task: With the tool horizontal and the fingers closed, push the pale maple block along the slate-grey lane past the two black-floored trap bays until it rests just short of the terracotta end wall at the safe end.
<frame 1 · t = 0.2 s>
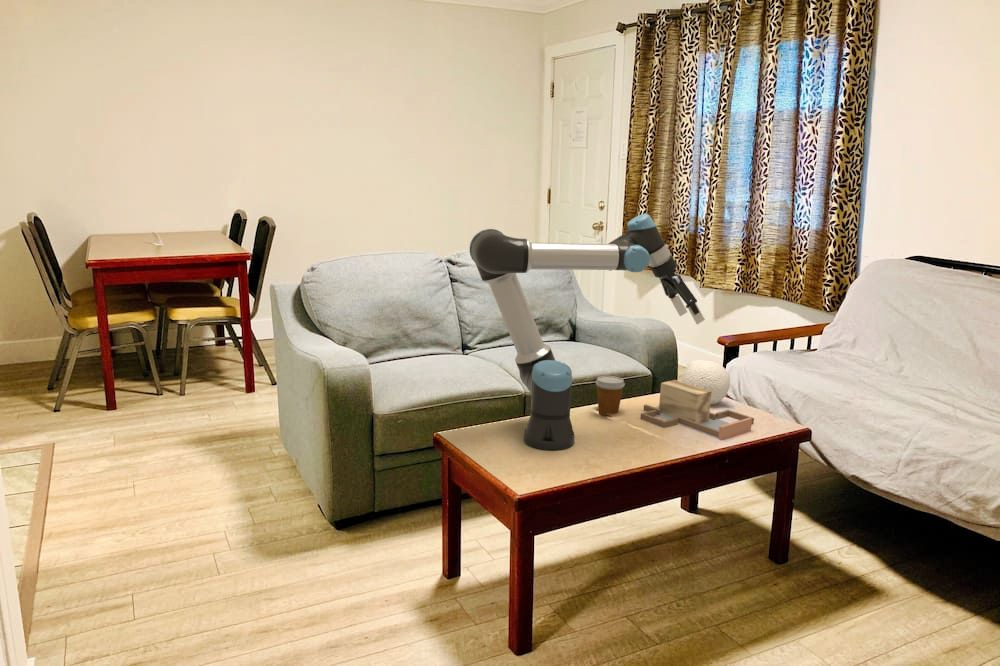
hand: (692, 317, 241), 35 cm above the table, tool tilted 35°, fingers open, 13 cm apart
maple block: (683, 416, 251), point 1 cm above the table, touching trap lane
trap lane: (694, 423, 248), on the table
disposable coffee cup: (608, 414, 254), on the table
decorative orb: (701, 404, 268), on the table
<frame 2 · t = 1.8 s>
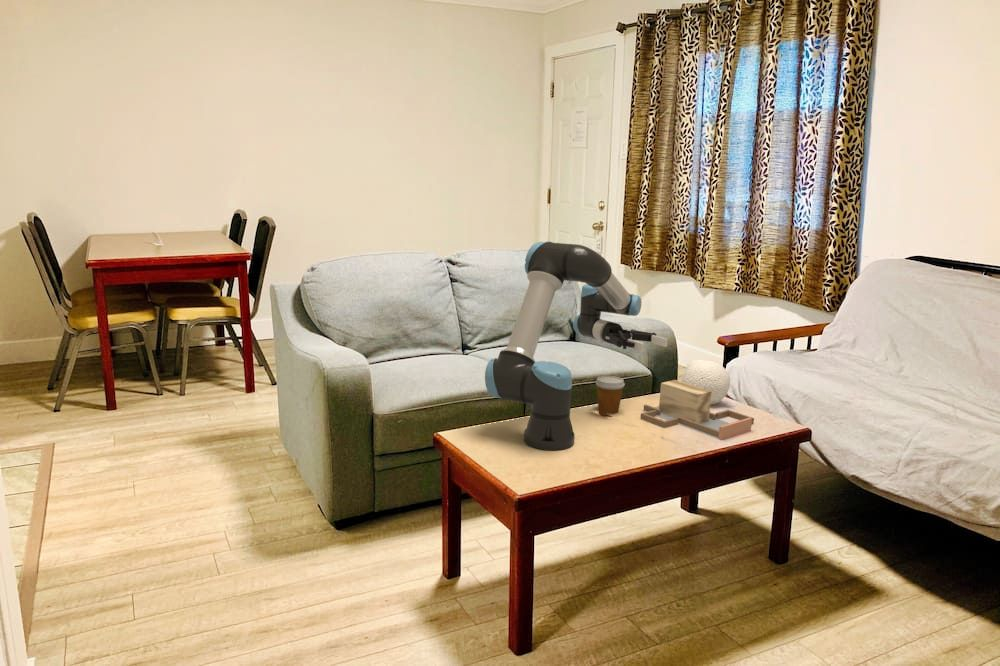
hand: (654, 345, 257), 22 cm above the table, tool horizontal, fingers open, 11 cm apart
nothing on the table moved.
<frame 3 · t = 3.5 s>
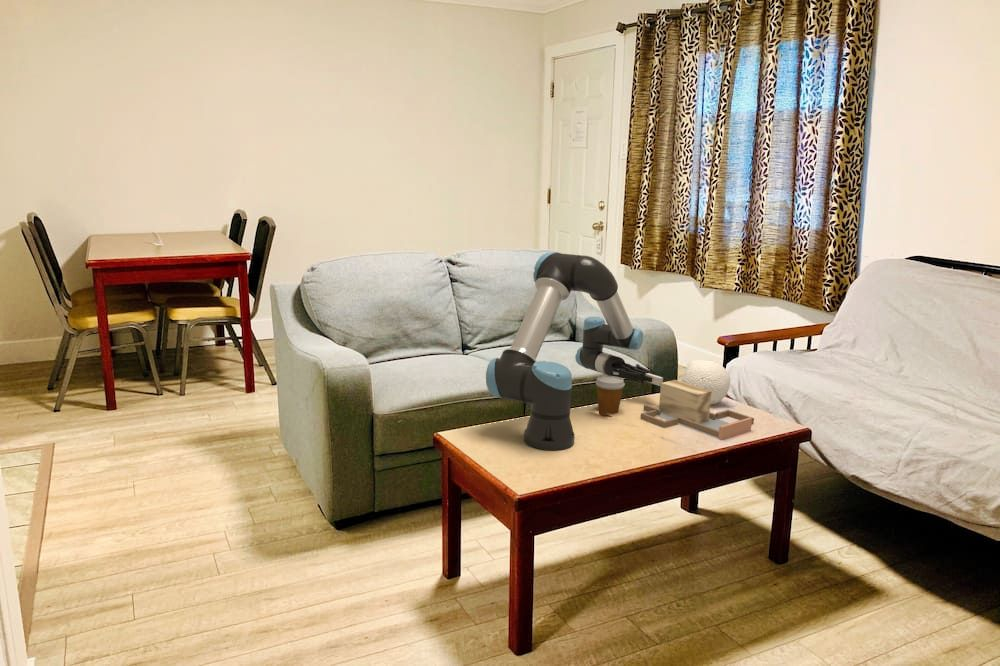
hand: (661, 381, 257), 10 cm above the table, tool horizontal, fingers closed
nothing on the table moved.
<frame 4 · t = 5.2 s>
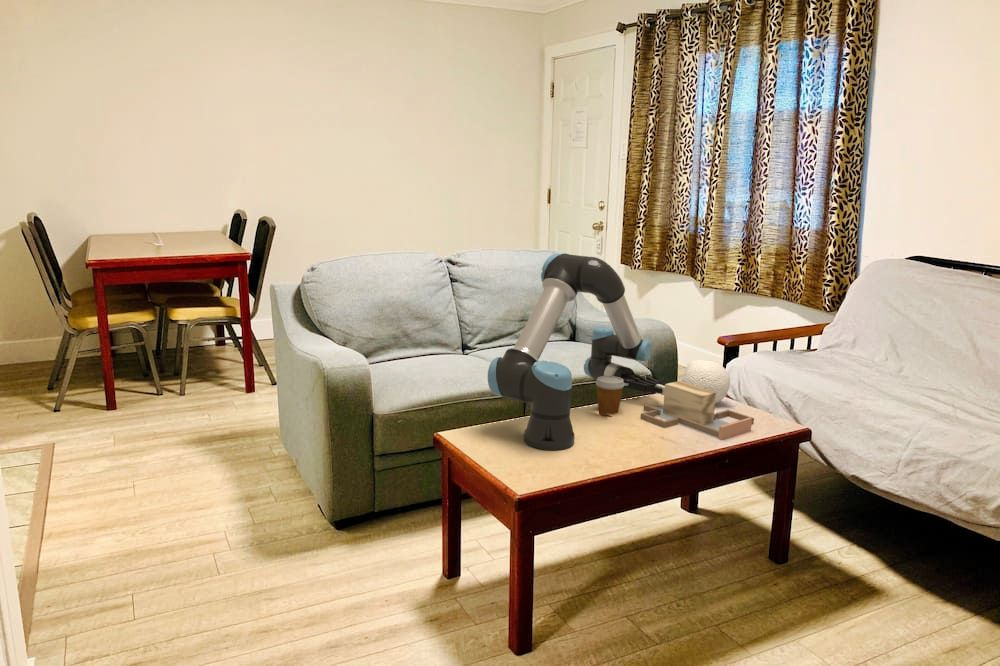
hand: (671, 393, 254), 7 cm above the table, tool horizontal, fingers closed
maple block: (687, 417, 250), point 1 cm above the table, touching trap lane
everything else where it was.
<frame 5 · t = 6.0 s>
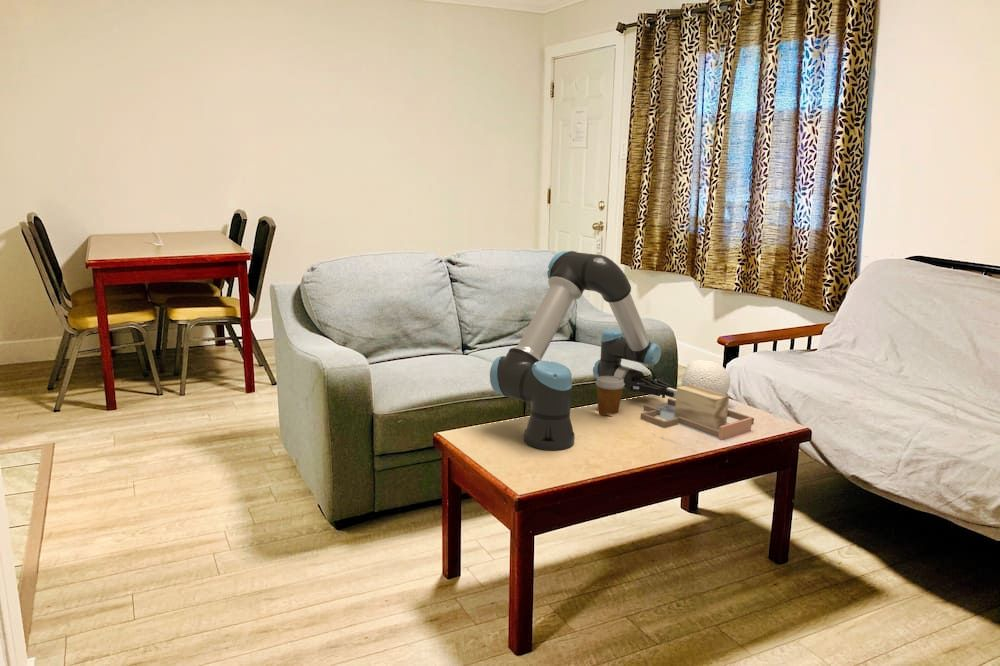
hand: (683, 396, 251), 7 cm above the table, tool horizontal, fingers closed
maple block: (699, 421, 246), point 1 cm above the table, touching gripper
everything else where it was.
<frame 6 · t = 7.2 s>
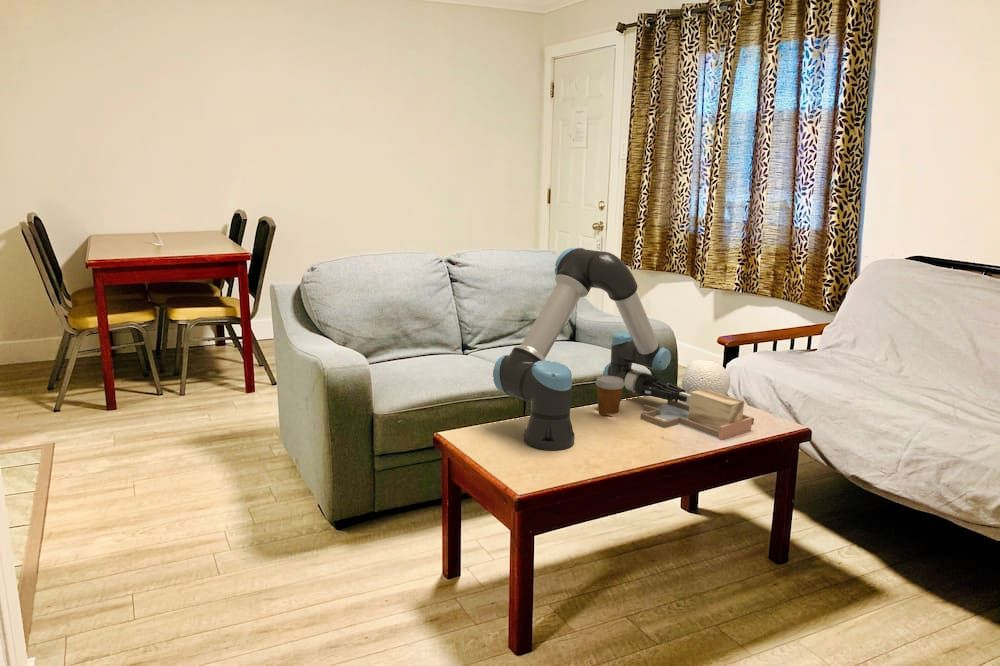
hand: (696, 401, 246), 7 cm above the table, tool horizontal, fingers closed
maple block: (714, 426, 242), point 1 cm above the table, touching gripper, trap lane
everything else where it was.
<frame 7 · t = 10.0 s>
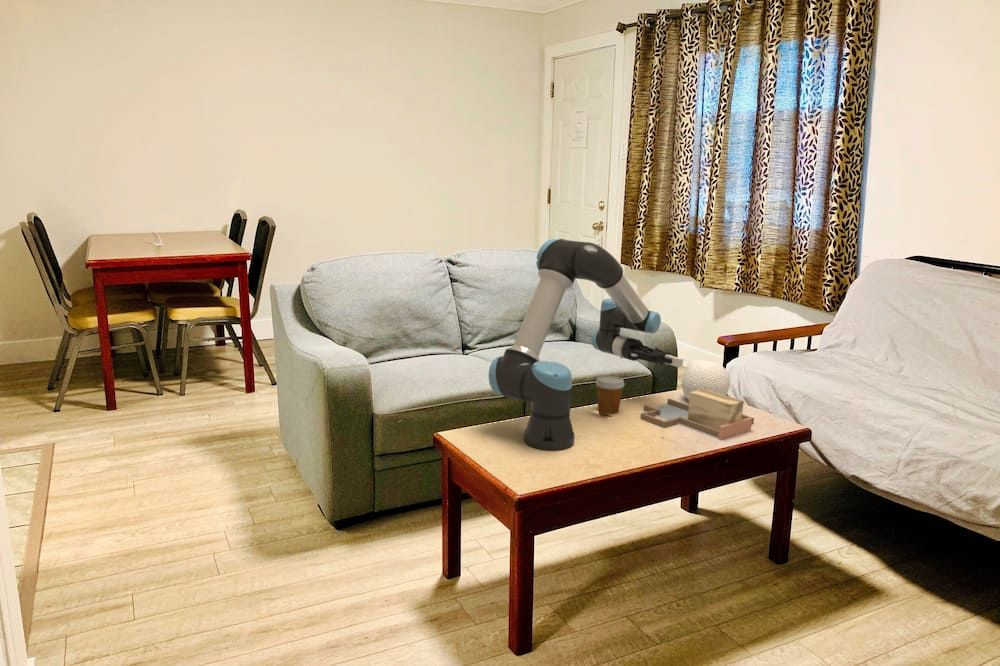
hand: (681, 363, 249), 18 cm above the table, tool horizontal, fingers closed
maple block: (713, 426, 242), point 1 cm above the table, touching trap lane
everything else where it was.
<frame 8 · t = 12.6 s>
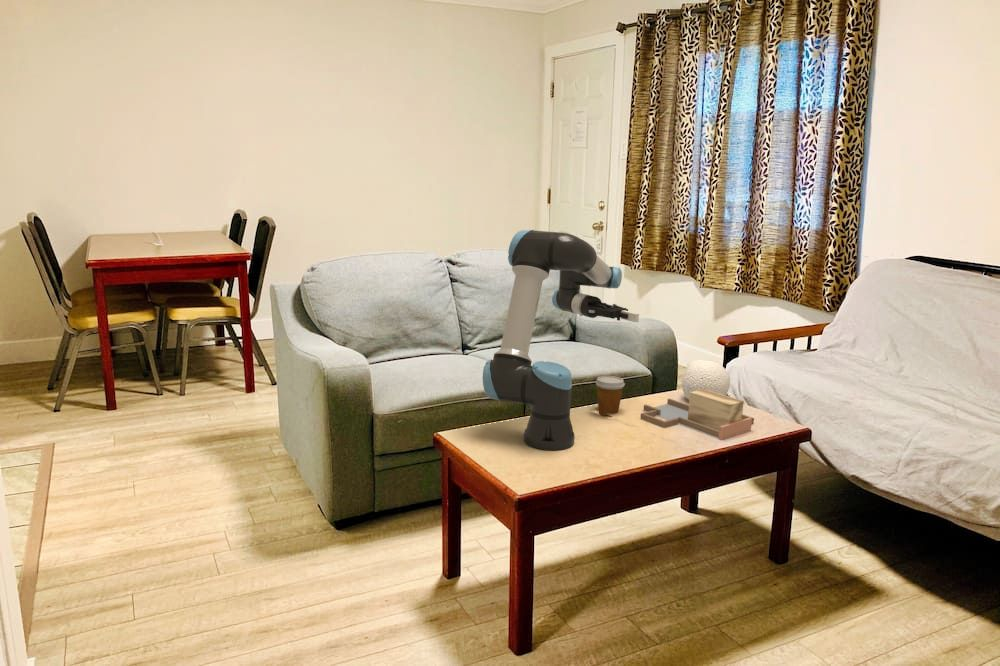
hand: (637, 318, 251), 32 cm above the table, tool horizontal, fingers closed
nothing on the table moved.
at the end: maple block 0.4 cm from the target spot, point 1.2 cm above the table; maple block tilted 0° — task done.
